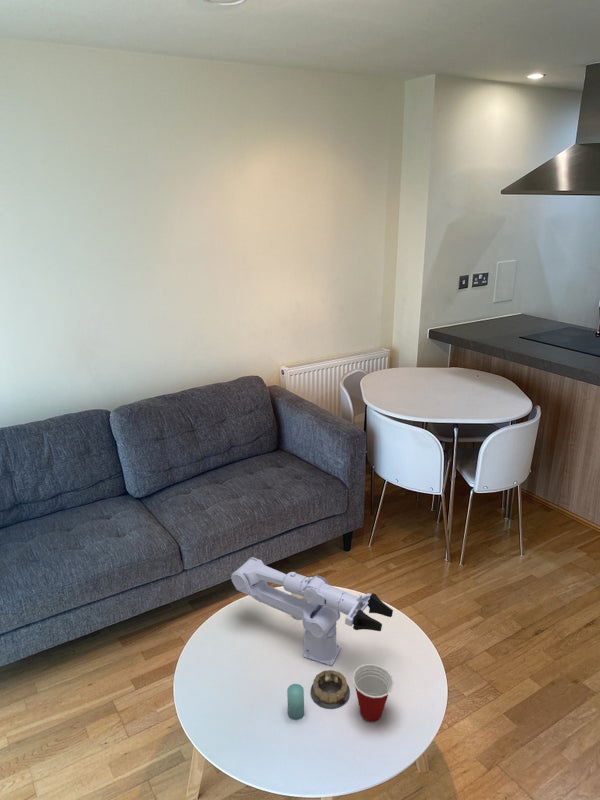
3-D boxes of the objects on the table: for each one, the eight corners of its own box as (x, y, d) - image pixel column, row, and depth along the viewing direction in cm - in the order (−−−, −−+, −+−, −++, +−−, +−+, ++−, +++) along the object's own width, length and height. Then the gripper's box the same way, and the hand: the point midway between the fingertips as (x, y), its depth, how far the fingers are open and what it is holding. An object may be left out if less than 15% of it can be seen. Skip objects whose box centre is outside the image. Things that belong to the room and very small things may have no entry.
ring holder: (304, 701, 163) (304, 691, 162) (319, 672, 173) (319, 663, 172) (341, 714, 159) (341, 704, 158) (355, 684, 168) (355, 675, 167)
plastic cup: (383, 737, 152) (384, 701, 148) (345, 720, 157) (345, 685, 153) (398, 706, 161) (399, 672, 157) (361, 691, 166) (362, 657, 162)
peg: (285, 716, 159) (284, 693, 156) (292, 704, 162) (291, 681, 160) (300, 722, 157) (299, 699, 154) (306, 709, 161) (306, 686, 158)
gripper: (332, 602, 162) (377, 621, 156) (355, 578, 174) (398, 595, 168) (329, 623, 164) (374, 644, 158) (352, 599, 176) (395, 616, 170)
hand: (386, 620), depth 163 cm, fingers open, 7 cm apart
